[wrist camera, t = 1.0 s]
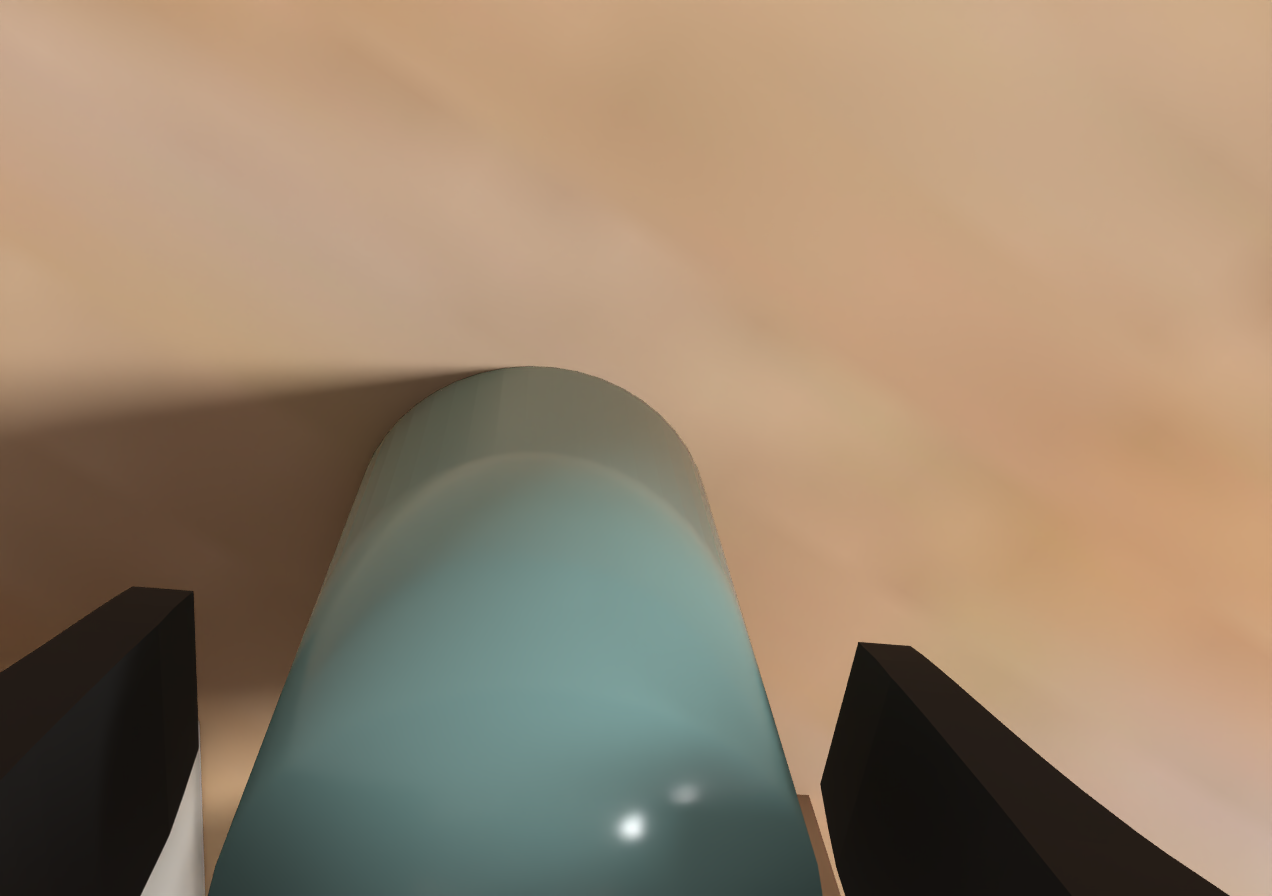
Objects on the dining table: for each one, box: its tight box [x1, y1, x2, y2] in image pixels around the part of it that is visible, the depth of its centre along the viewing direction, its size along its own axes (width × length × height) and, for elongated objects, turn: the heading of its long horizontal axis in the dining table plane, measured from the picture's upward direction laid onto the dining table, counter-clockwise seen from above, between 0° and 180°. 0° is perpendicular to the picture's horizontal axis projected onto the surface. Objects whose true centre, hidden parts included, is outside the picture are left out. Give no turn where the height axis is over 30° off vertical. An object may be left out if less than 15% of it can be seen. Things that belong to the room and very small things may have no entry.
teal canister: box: [208, 366, 823, 896], centre depth 12 cm, size 5×5×7 cm
